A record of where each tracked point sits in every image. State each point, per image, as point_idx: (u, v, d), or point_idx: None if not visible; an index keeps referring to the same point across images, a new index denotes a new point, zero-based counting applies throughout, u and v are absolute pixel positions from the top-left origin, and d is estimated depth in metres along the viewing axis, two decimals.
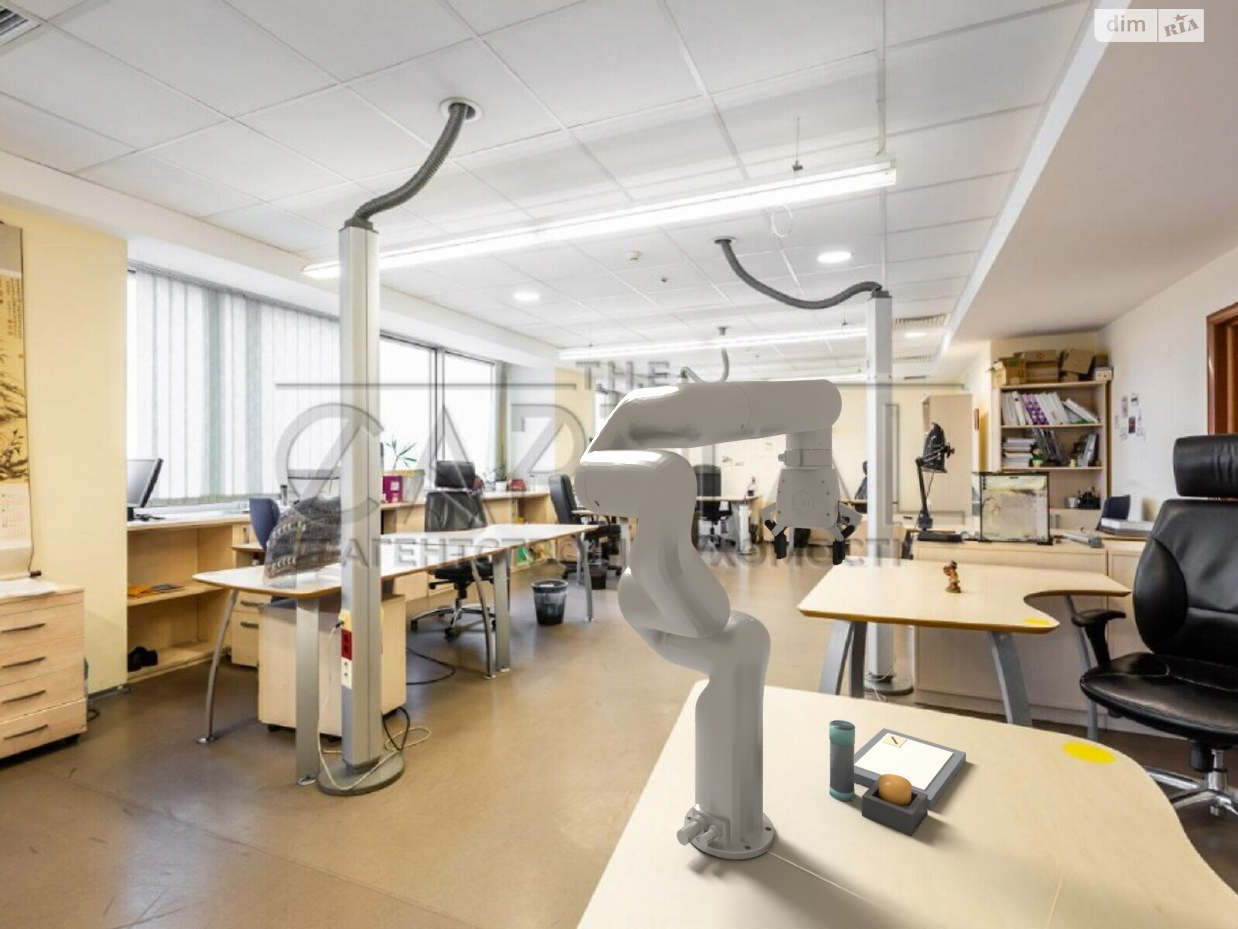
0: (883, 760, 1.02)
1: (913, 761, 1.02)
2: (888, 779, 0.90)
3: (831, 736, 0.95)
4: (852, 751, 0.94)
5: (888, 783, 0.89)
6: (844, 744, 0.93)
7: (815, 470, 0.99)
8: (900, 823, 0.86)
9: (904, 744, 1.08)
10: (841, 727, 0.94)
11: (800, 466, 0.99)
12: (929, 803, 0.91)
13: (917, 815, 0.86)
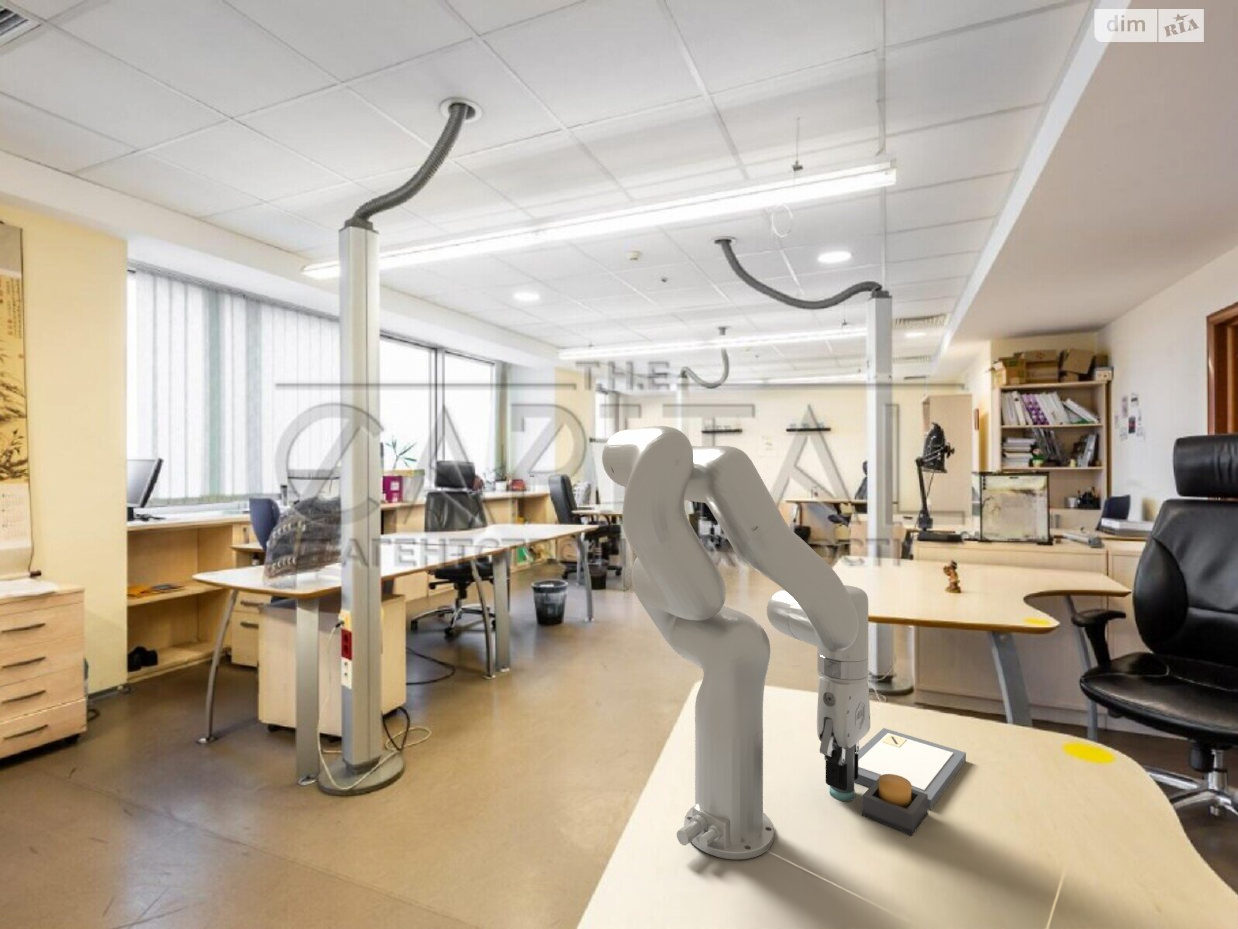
0: (883, 760, 1.02)
1: (913, 761, 1.02)
2: (888, 779, 0.90)
3: None
4: (852, 751, 0.94)
5: (888, 783, 0.89)
6: None
7: None
8: (900, 823, 0.86)
9: (904, 744, 1.08)
10: None
11: (866, 677, 0.92)
12: (929, 803, 0.91)
13: (917, 815, 0.86)
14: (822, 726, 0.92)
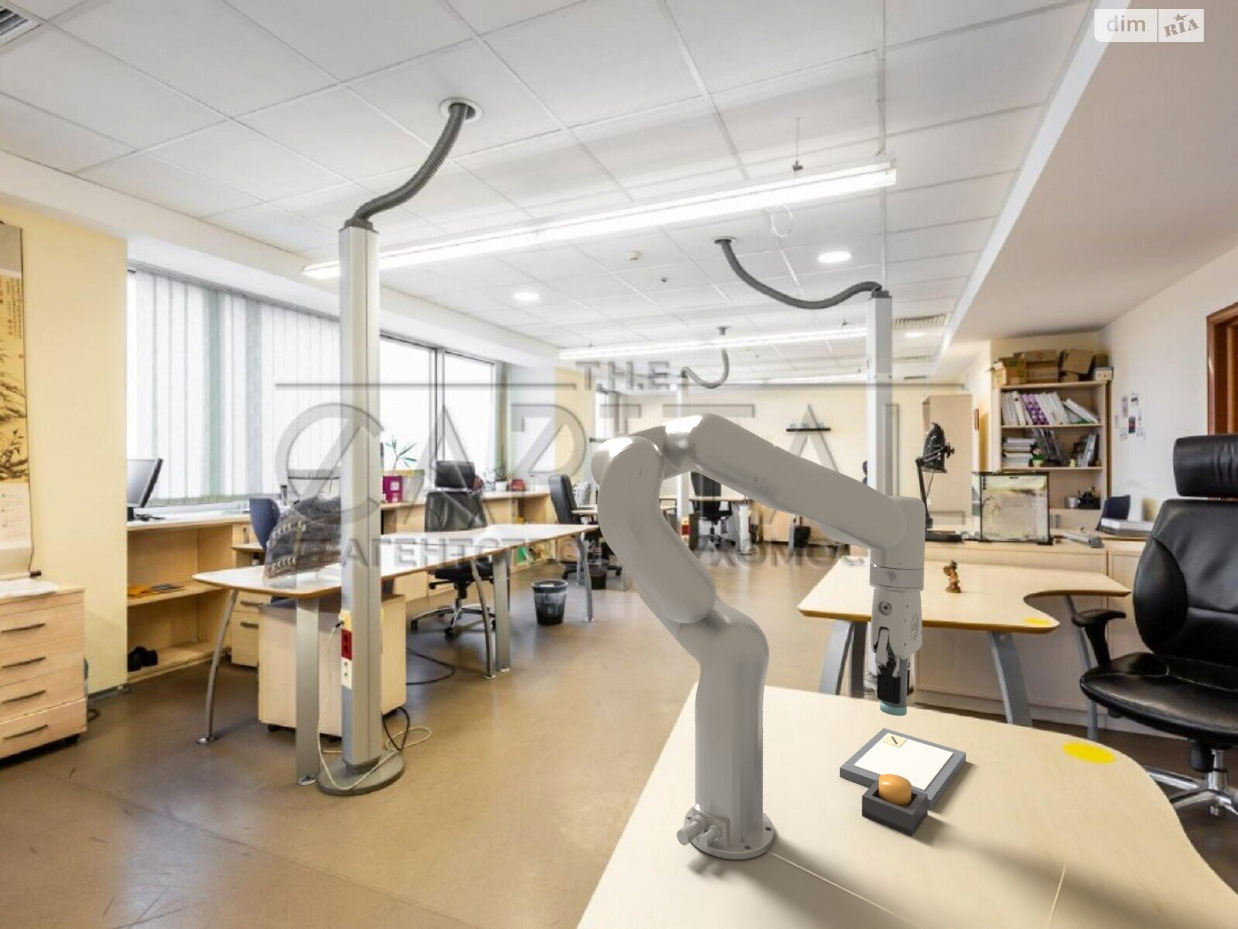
0: (883, 760, 1.02)
1: (913, 761, 1.02)
2: (888, 779, 0.90)
3: None
4: (906, 664, 0.91)
5: (888, 783, 0.89)
6: None
7: None
8: (900, 823, 0.86)
9: (904, 744, 1.08)
10: None
11: (922, 587, 0.89)
12: (929, 803, 0.91)
13: (917, 815, 0.86)
14: (877, 636, 0.89)
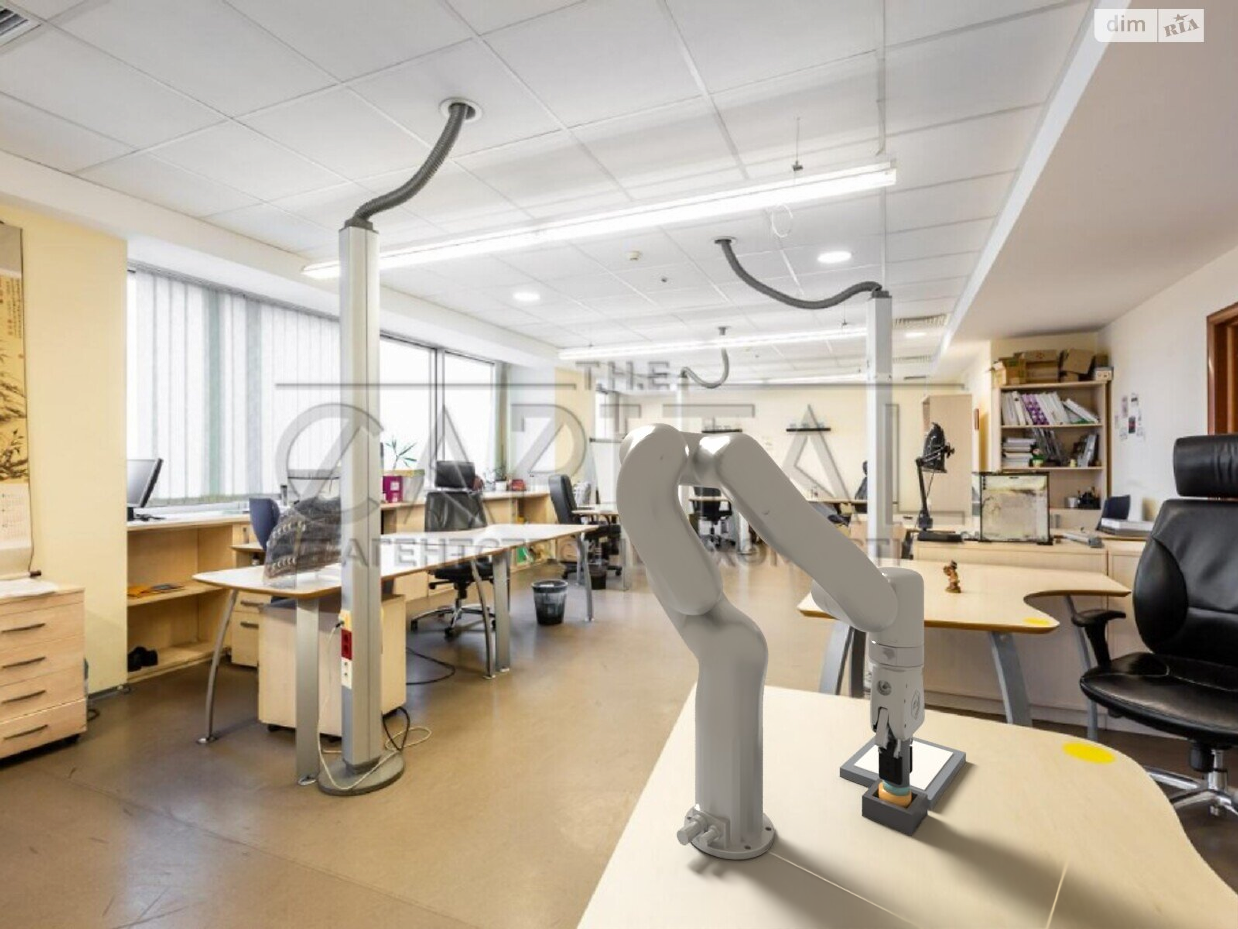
0: None
1: (913, 761, 1.02)
2: None
3: None
4: (908, 743, 0.88)
5: None
6: None
7: None
8: (900, 823, 0.86)
9: None
10: None
11: (922, 664, 0.87)
12: (929, 803, 0.91)
13: (917, 815, 0.86)
14: (876, 716, 0.86)
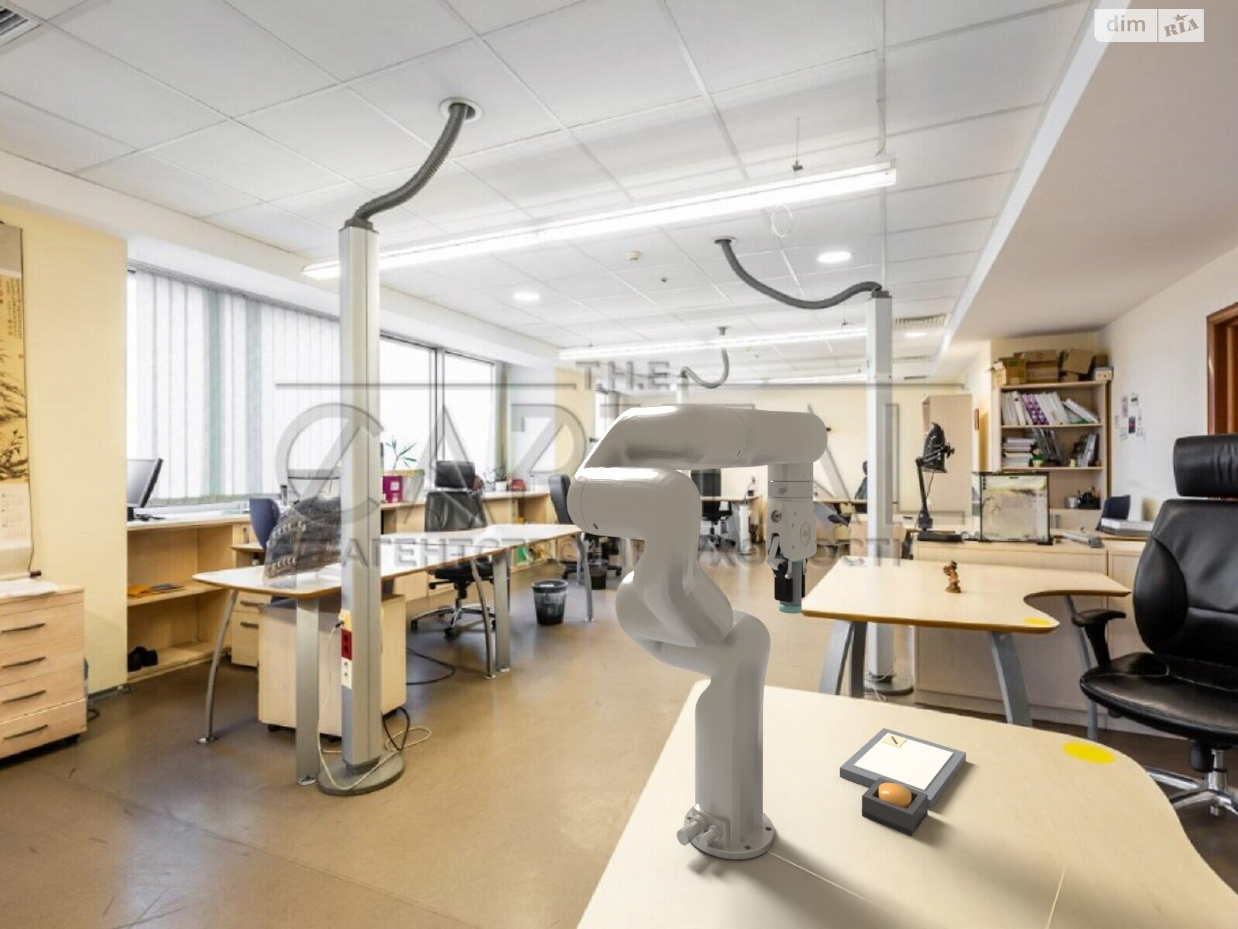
0: (883, 760, 1.02)
1: (913, 761, 1.02)
2: (888, 788, 0.90)
3: (780, 555, 1.02)
4: (799, 568, 1.01)
5: (888, 792, 0.89)
6: None
7: (809, 500, 1.03)
8: (900, 823, 0.86)
9: (904, 744, 1.08)
10: None
11: (810, 497, 1.00)
12: (929, 803, 0.91)
13: (917, 815, 0.86)
14: (770, 542, 1.00)
